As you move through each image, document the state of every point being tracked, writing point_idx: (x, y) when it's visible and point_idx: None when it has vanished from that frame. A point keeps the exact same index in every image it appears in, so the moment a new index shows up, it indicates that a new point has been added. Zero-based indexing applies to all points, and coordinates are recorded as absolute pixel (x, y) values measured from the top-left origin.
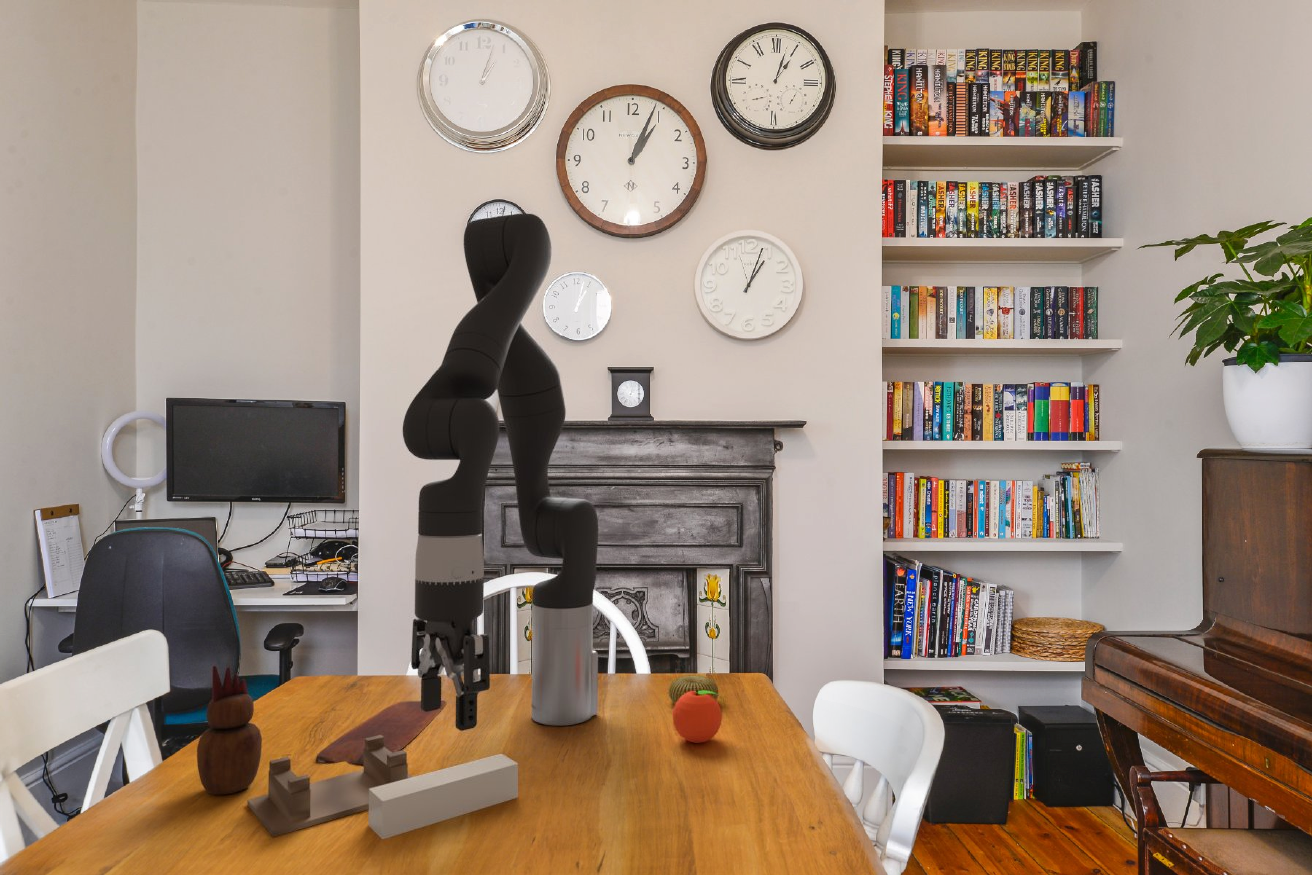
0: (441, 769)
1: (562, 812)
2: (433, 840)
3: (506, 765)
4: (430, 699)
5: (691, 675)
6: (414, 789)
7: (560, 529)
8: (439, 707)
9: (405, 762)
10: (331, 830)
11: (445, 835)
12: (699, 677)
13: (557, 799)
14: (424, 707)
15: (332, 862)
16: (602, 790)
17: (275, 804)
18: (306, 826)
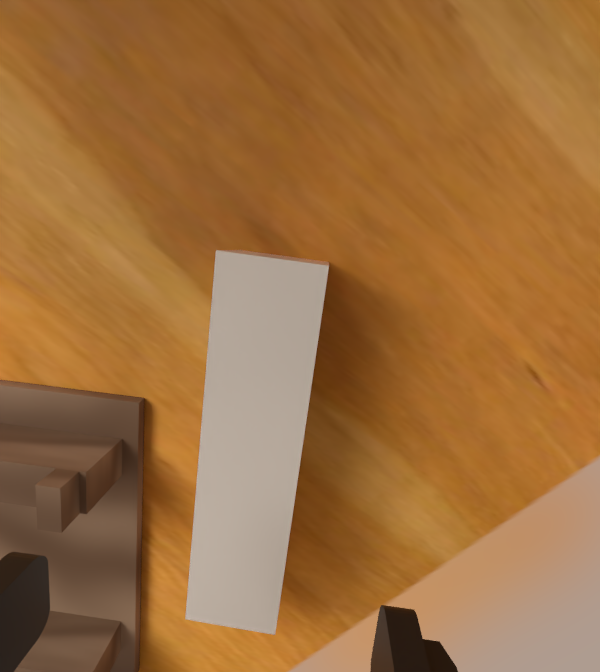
0: (200, 448)
1: (489, 237)
2: (365, 510)
3: (313, 301)
4: (6, 646)
5: None
6: (268, 559)
7: None
8: (43, 559)
9: (78, 475)
10: (183, 602)
11: (365, 484)
12: None
13: (421, 194)
14: (34, 639)
15: (300, 652)
16: (482, 51)
17: None
18: (139, 623)
